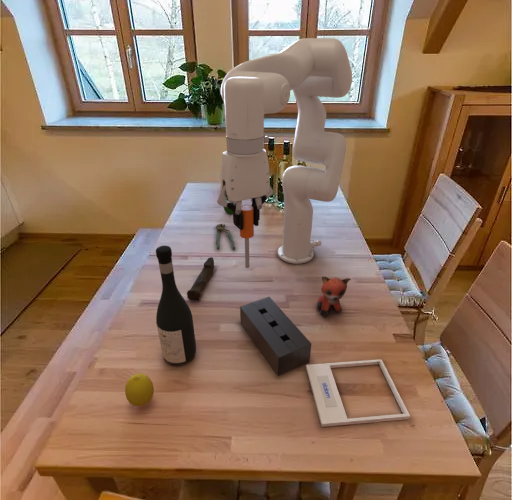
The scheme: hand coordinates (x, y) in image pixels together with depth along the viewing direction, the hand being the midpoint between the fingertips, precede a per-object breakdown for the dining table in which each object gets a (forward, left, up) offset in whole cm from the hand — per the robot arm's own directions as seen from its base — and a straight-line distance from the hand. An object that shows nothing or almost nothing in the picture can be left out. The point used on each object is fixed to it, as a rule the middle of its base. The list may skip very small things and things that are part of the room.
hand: (246, 224), depth 81 cm
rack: (-2, +10, -29) cm, 31 cm away
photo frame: (-10, +31, -29) cm, 44 cm away
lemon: (+31, +12, -29) cm, 44 cm away
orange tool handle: (0, 0, -12) cm, 12 cm away
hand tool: (+5, -22, -29) cm, 37 cm away
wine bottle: (+20, +3, -29) cm, 36 cm away
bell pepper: (-25, -64, -29) cm, 75 cm away
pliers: (-13, -45, -29) cm, 55 cm away
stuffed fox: (-23, +6, -29) cm, 38 cm away
